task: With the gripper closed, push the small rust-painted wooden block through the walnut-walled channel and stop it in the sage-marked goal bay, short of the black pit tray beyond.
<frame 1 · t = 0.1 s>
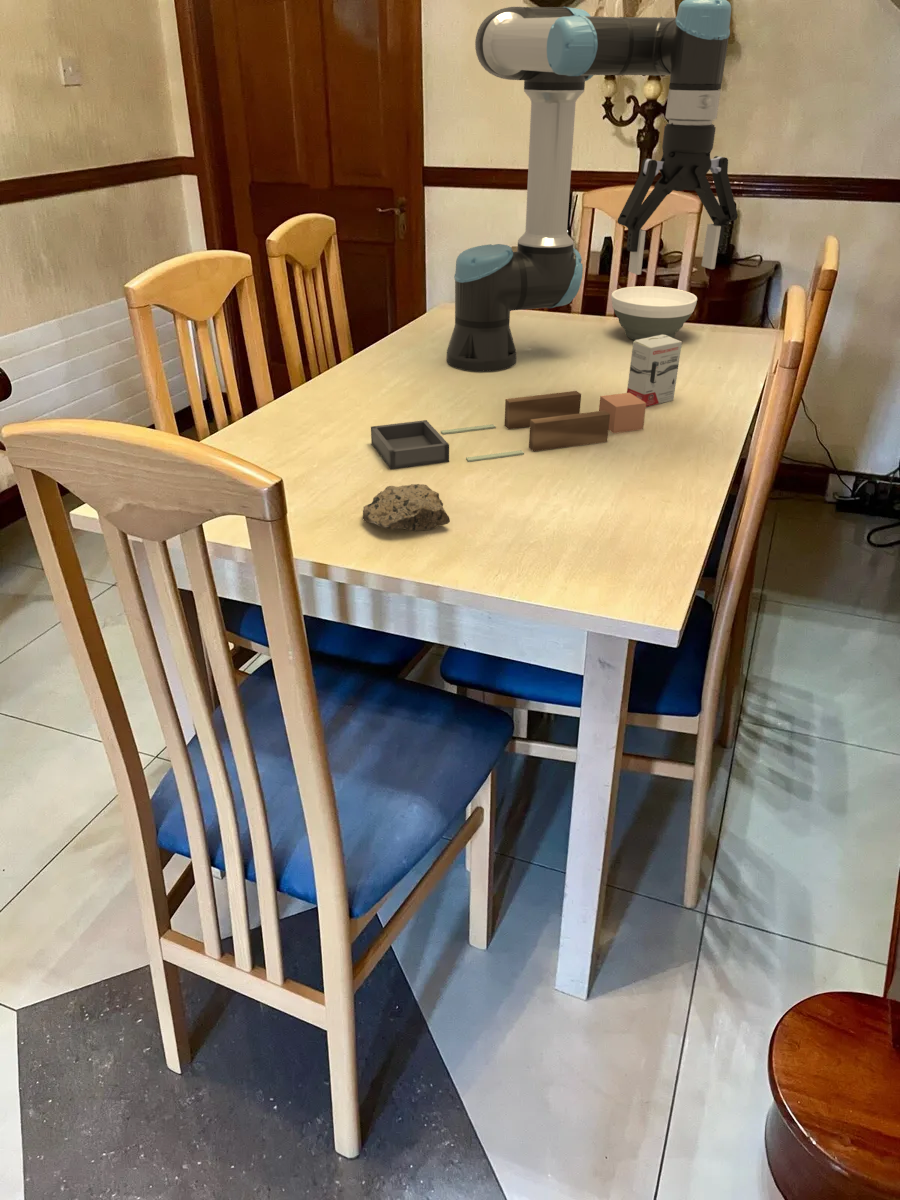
hand: (671, 270, 147), 28 cm above the table, fingers open, 13 cm apart
channel: (554, 433, 161), on the table
ink box: (649, 401, 176), on the table
bowl: (649, 337, 215), on the table
rock: (405, 521, 132), on the table
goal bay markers: (481, 443, 157), on the table
pit tray: (409, 452, 153), on the table
rust block: (620, 426, 164), on the table
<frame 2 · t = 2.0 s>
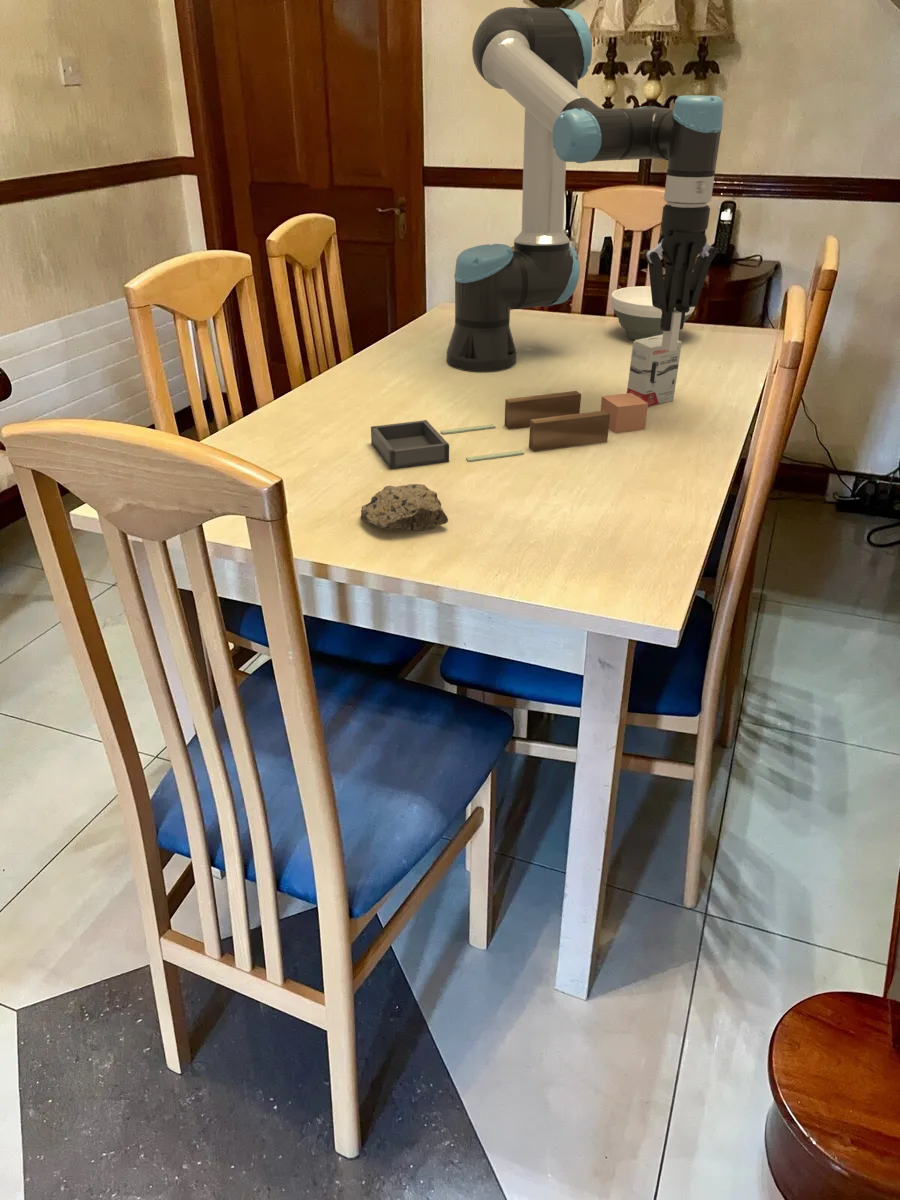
hand: (669, 348, 159), 13 cm above the table, fingers closed
nothing on the table moved.
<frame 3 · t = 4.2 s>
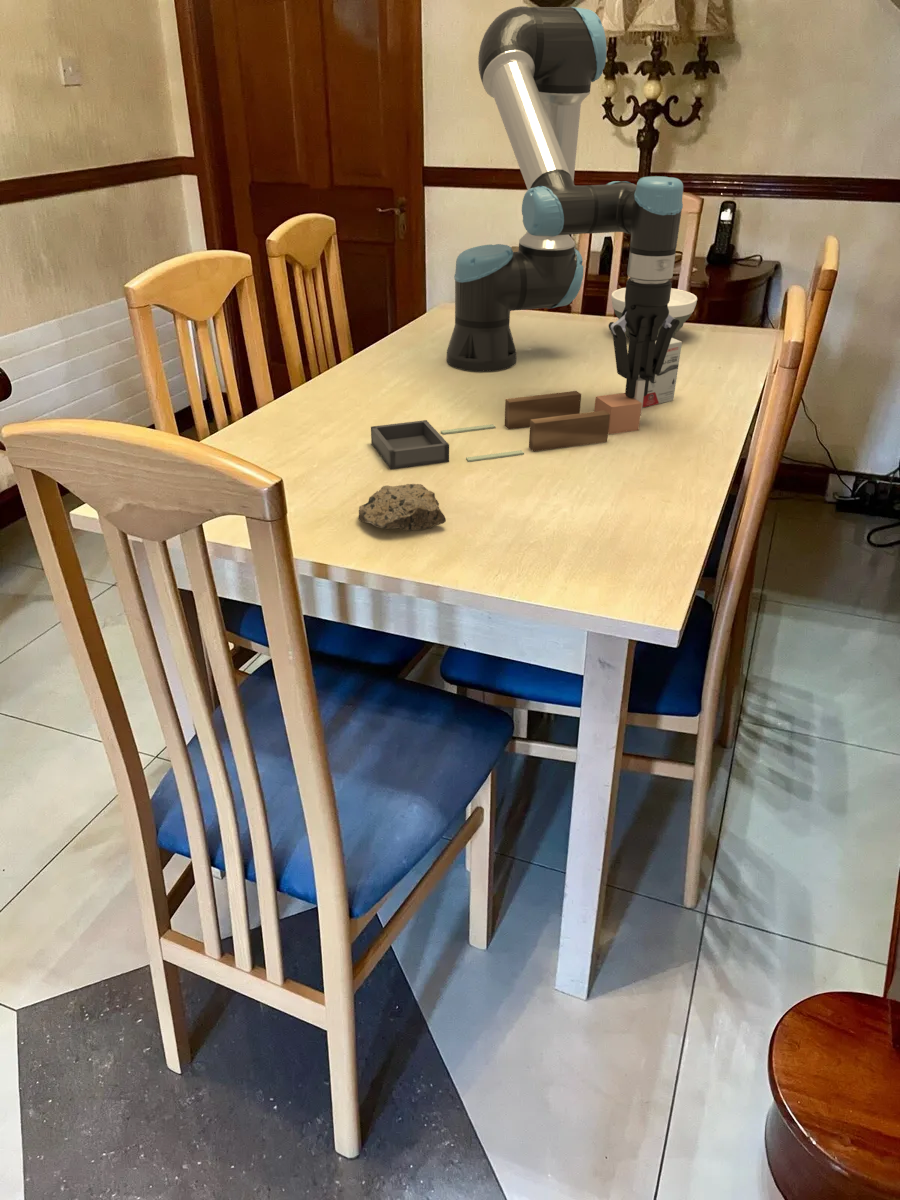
hand: (633, 413, 164), 2 cm above the table, fingers closed
rust block: (615, 426, 164), on the table
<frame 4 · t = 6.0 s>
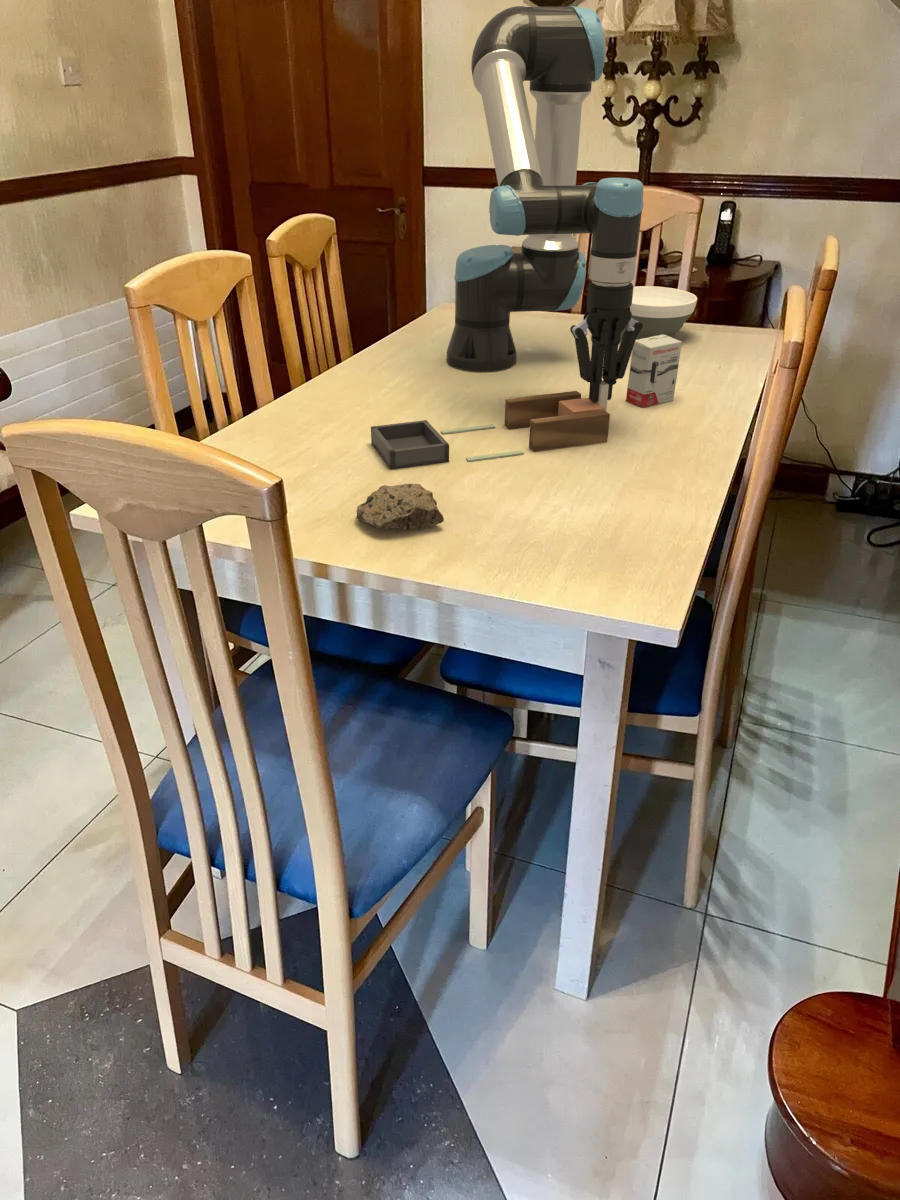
hand: (598, 417, 162), 2 cm above the table, fingers closed
rust block: (579, 431, 162), on the table
everything else where it was.
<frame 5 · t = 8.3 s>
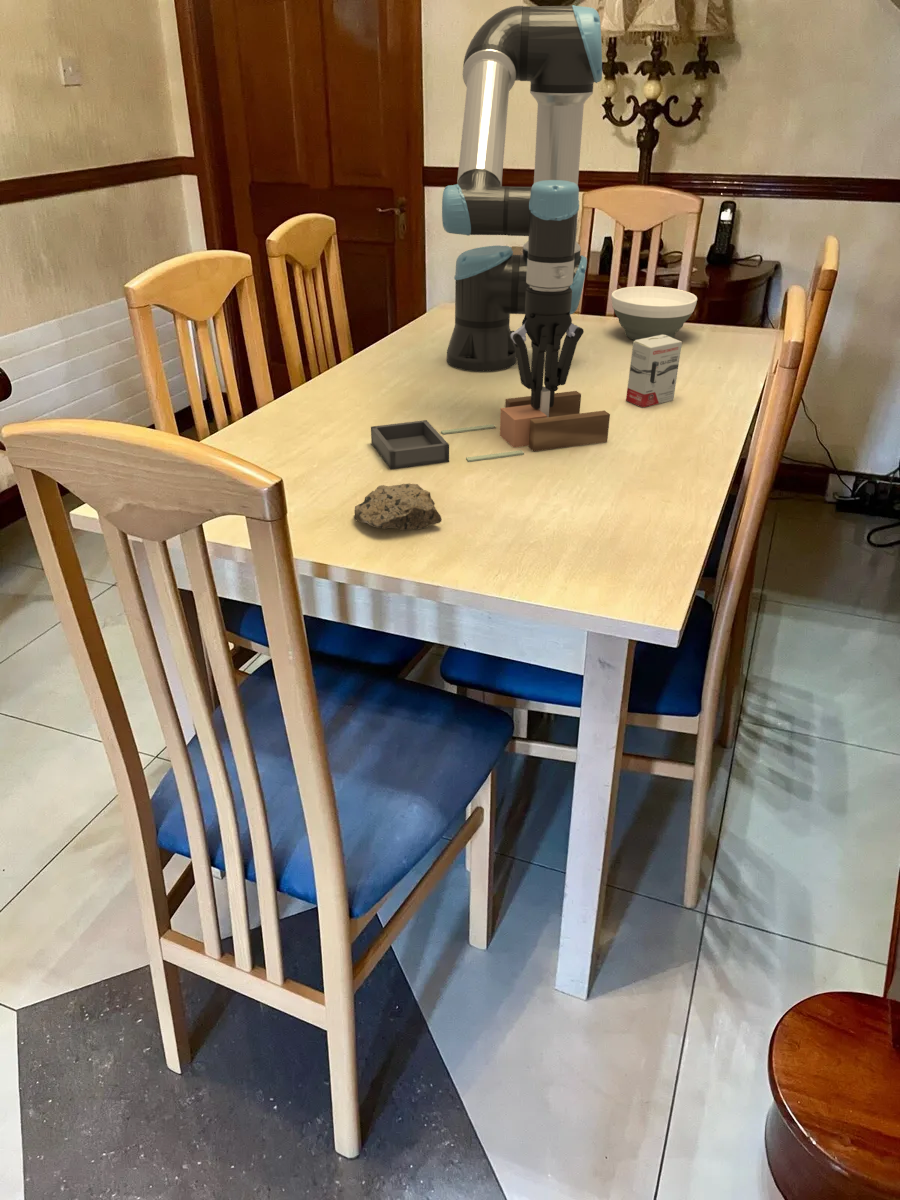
hand: (540, 425, 159), 2 cm above the table, fingers closed
rust block: (522, 439, 158), on the table, touching gripper
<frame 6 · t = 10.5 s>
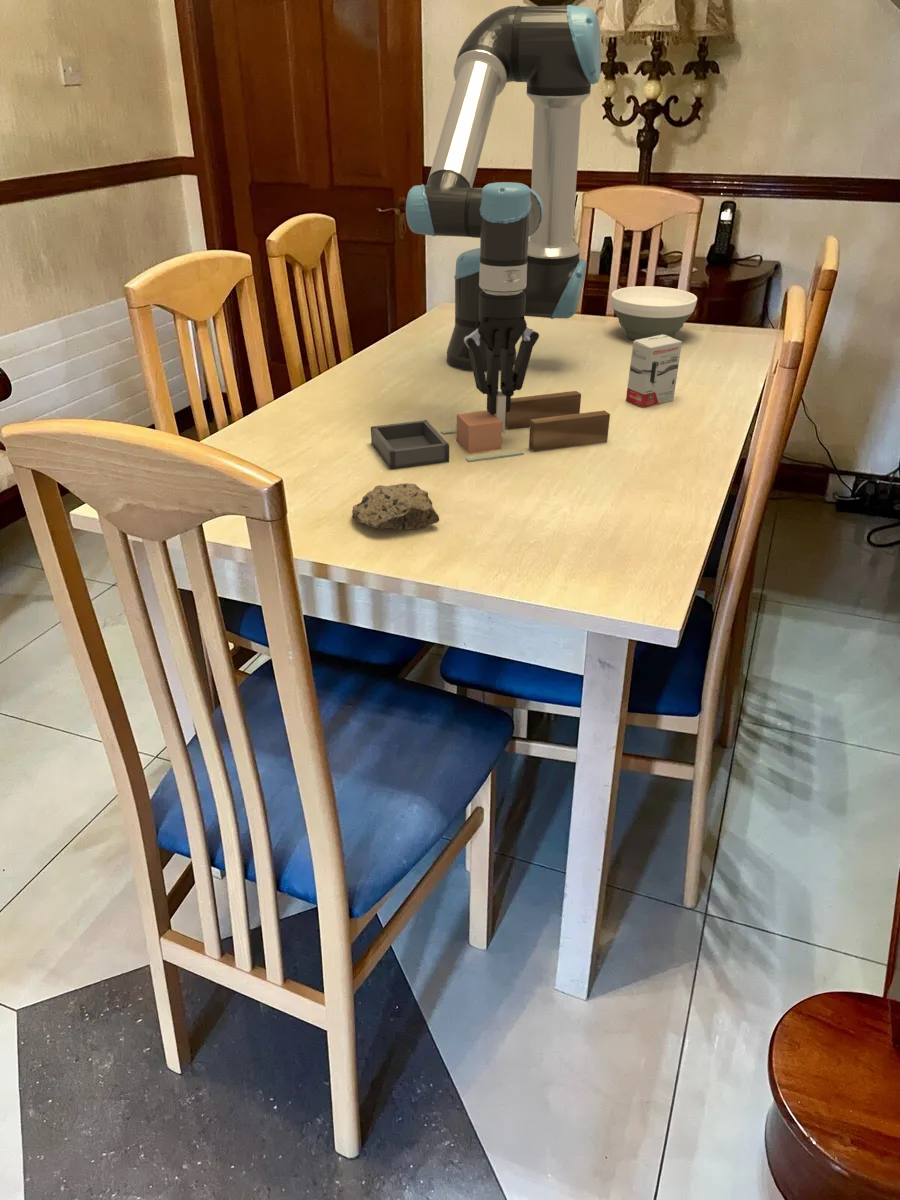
hand: (497, 430, 156), 2 cm above the table, fingers closed
rust block: (478, 445, 156), on the table
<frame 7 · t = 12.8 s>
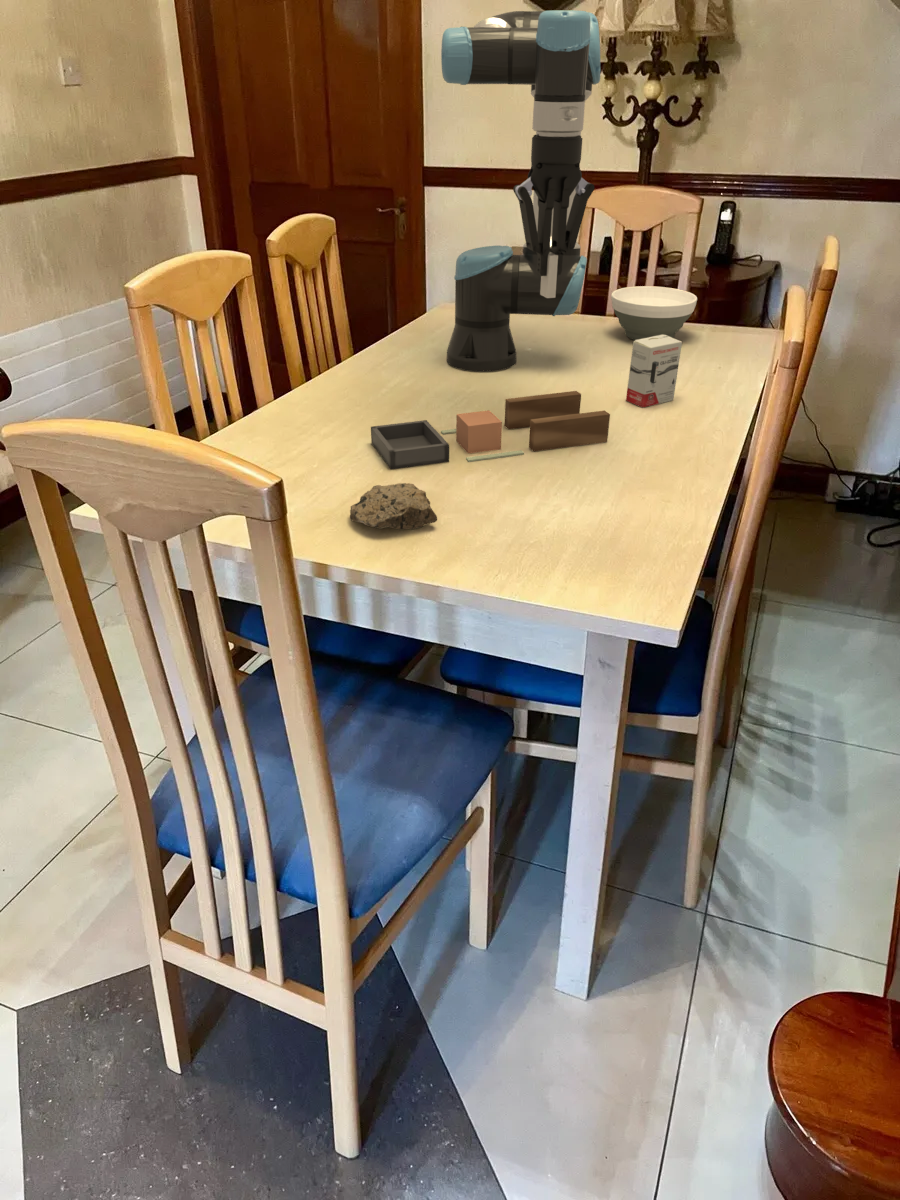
hand: (547, 295, 147), 24 cm above the table, fingers closed
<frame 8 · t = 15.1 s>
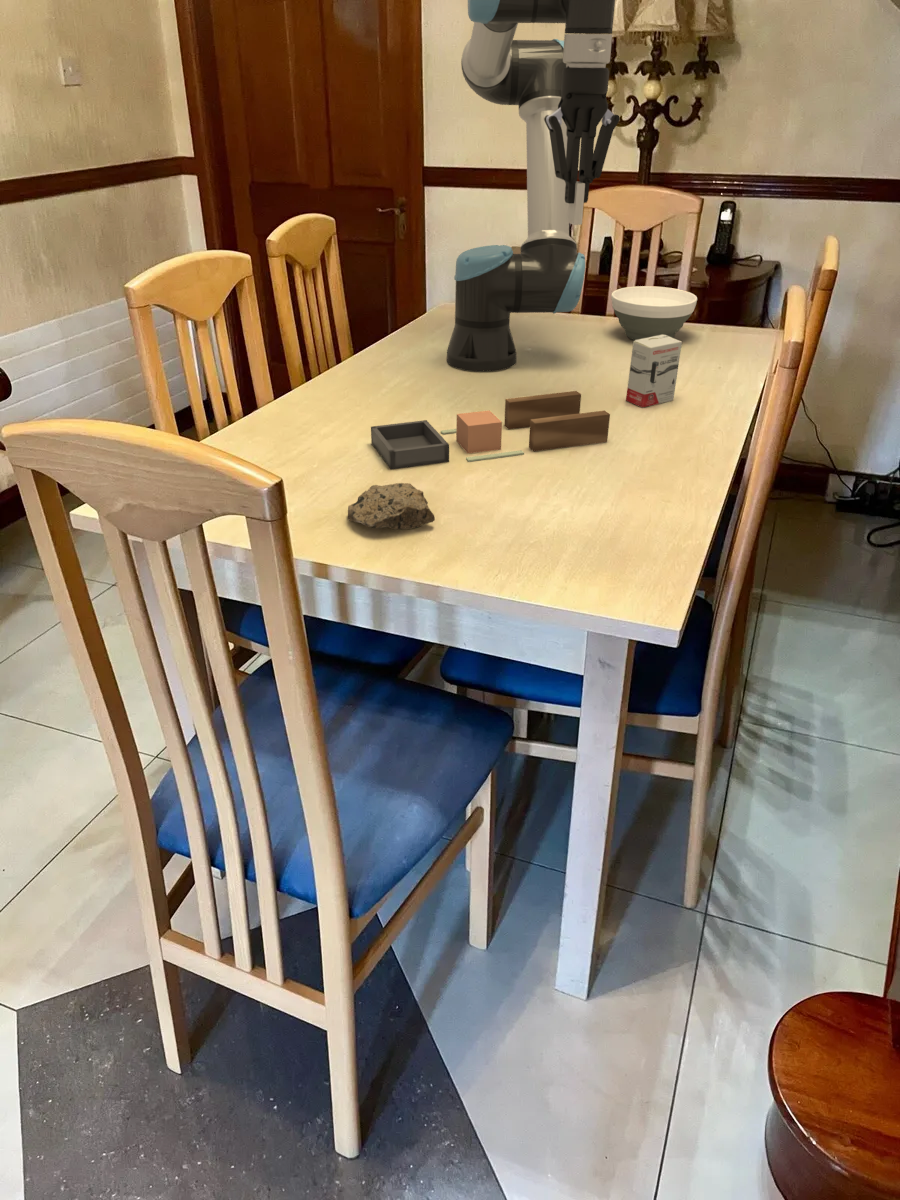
hand: (574, 223, 157), 32 cm above the table, fingers closed
at the end: rust block inside the target area (1.0 cm from its centre), on the table; rust block tilted 0°; rust block touching table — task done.
